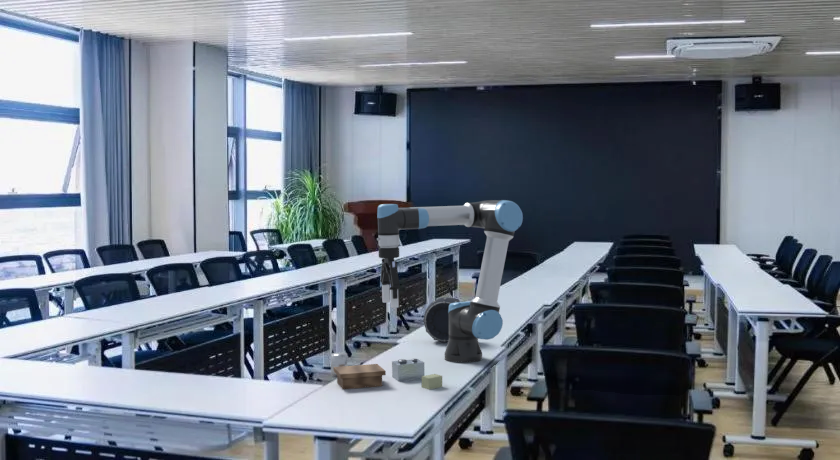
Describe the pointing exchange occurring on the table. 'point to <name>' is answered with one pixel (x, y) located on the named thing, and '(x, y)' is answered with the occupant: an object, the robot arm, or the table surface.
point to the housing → (407, 369)
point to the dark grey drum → (438, 318)
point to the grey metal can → (338, 361)
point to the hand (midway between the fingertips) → (390, 305)
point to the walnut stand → (359, 376)
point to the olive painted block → (431, 381)
